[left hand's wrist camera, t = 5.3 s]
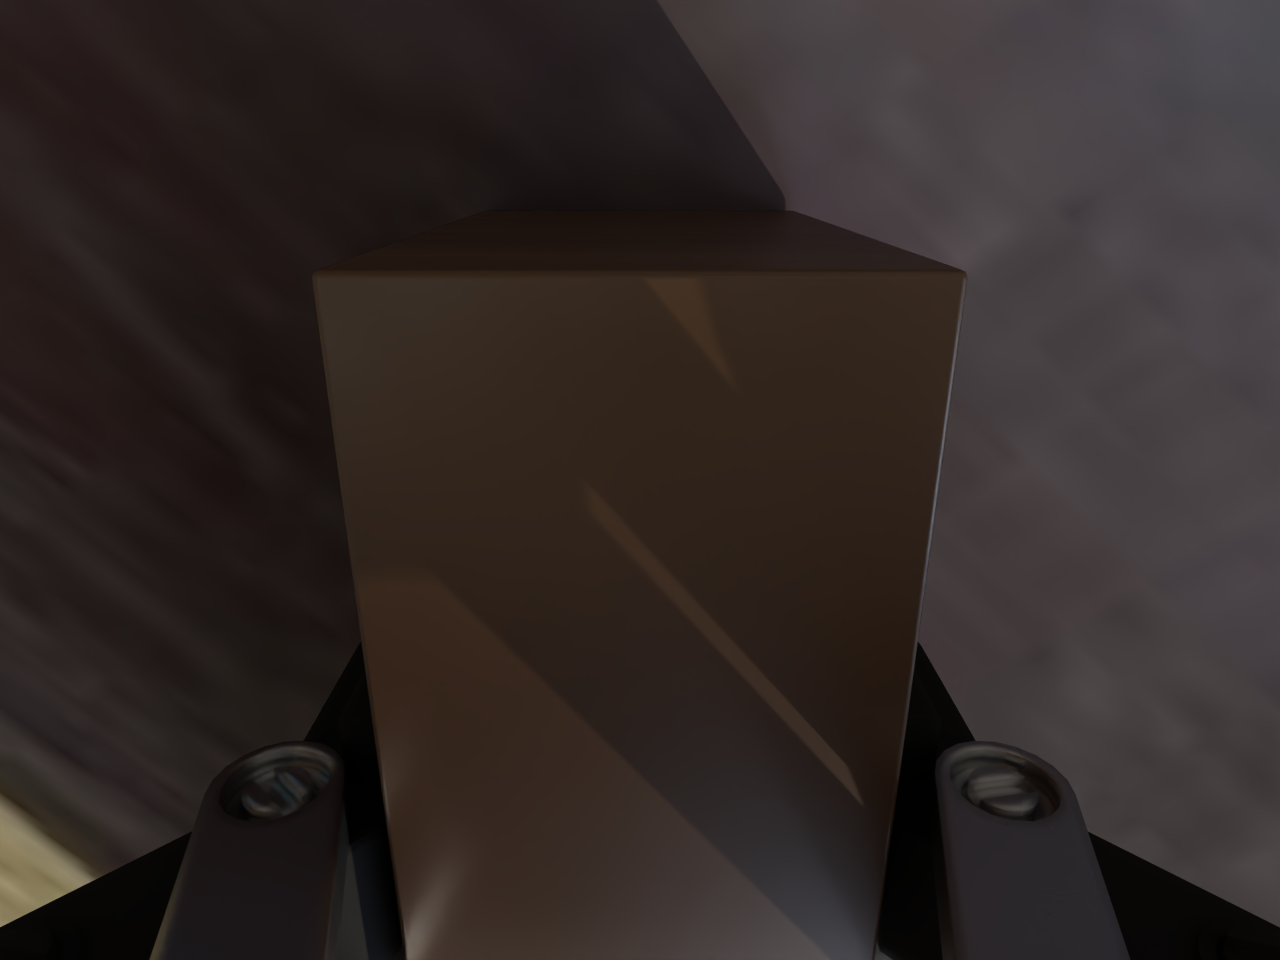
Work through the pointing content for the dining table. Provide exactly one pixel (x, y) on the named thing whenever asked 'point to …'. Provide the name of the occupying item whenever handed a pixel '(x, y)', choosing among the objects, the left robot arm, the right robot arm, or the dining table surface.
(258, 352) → the dining table surface
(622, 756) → the post
